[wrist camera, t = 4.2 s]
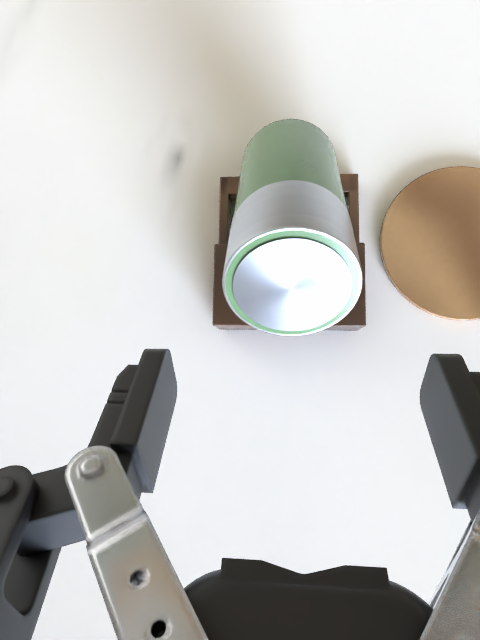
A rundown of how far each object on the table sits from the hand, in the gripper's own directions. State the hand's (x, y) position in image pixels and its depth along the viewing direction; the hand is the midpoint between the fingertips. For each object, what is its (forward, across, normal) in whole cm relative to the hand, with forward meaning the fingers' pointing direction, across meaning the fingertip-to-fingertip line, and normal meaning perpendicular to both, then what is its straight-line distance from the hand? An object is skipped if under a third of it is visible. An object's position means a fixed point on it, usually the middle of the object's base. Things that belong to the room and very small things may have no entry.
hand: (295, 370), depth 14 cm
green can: (+12, 0, 0) cm, 12 cm away
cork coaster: (+16, -11, +4) cm, 20 cm away
